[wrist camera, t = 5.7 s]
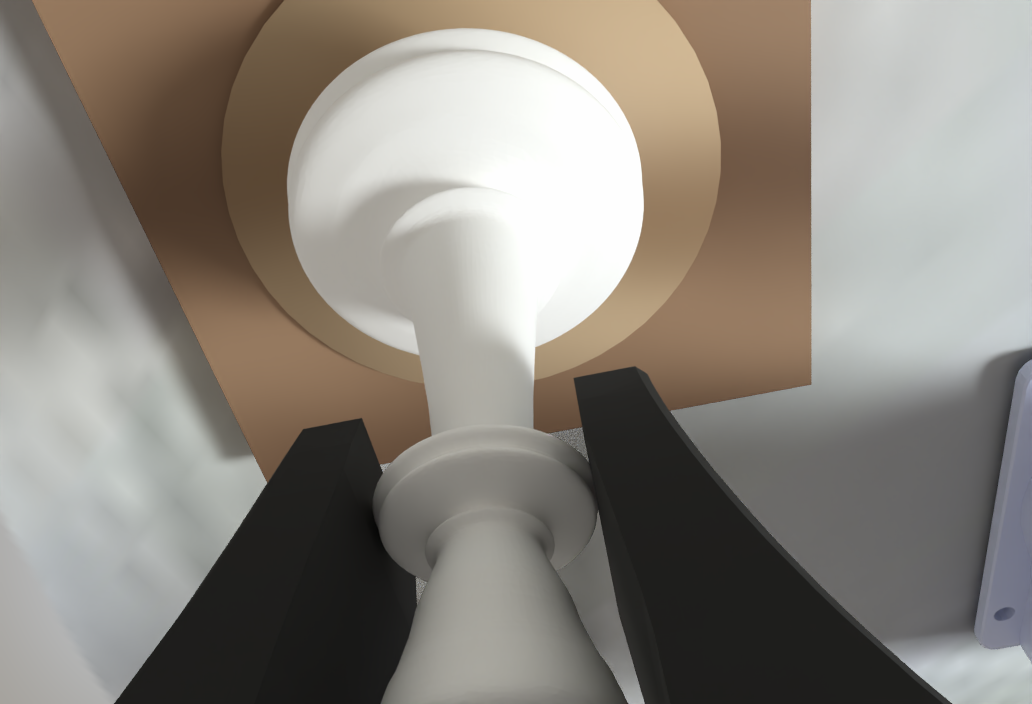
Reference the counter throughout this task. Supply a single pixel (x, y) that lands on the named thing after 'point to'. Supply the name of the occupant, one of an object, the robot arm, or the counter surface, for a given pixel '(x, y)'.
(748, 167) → the pedestal
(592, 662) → the chess piece
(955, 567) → the counter surface
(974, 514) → the counter surface
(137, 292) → the counter surface
